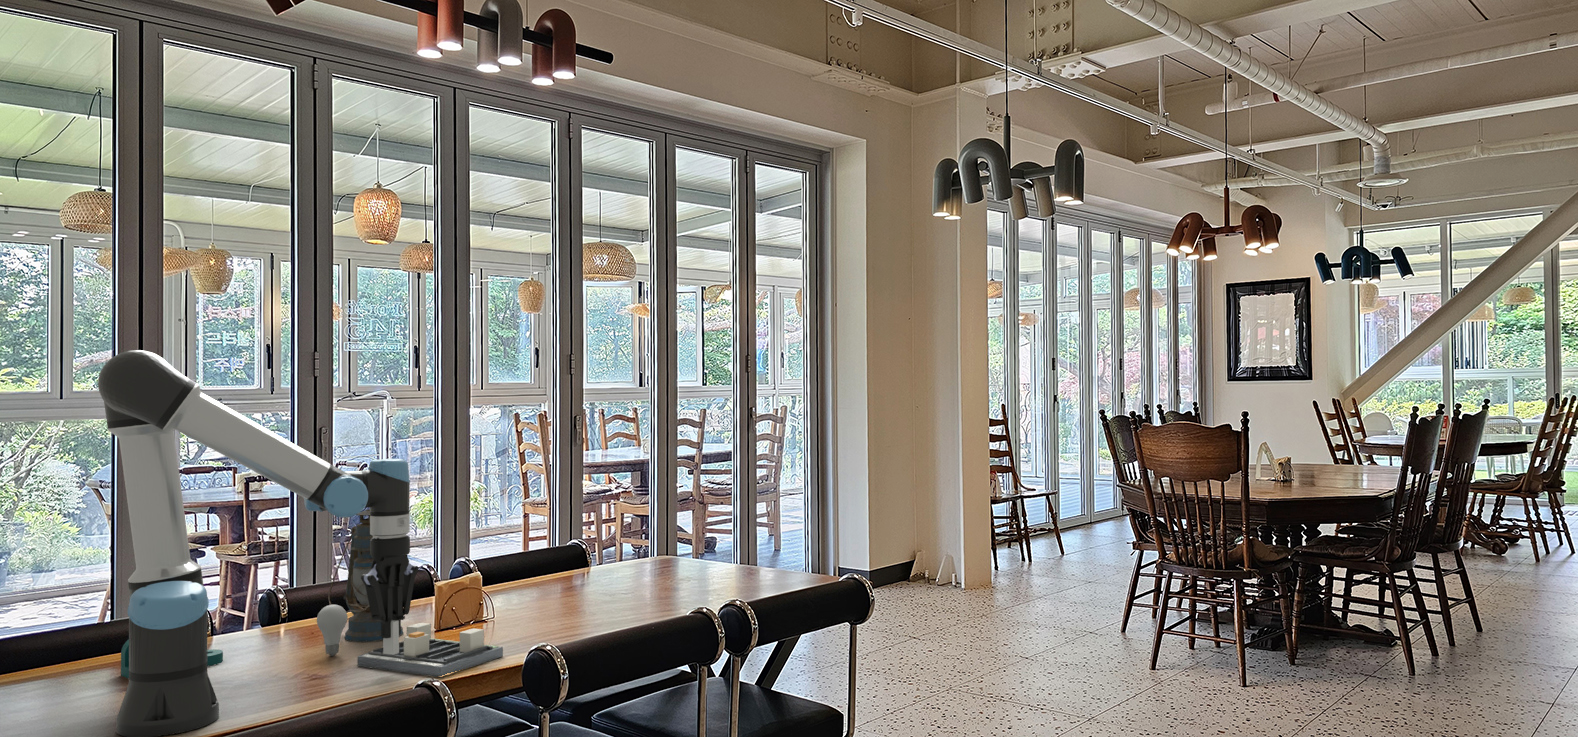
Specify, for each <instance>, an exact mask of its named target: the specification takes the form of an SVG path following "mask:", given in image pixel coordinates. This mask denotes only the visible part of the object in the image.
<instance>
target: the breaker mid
mask: <svg viewBox="0 0 1578 737" xmlns="http://www.w3.org/2000/svg"><path fill="white" fill-rule="evenodd" d="M403 641H404V655H405V656H413V657H416V655H419V654H422V653H426V652H429V635H428V634H424V632H414V633H410V634H409V636H407V635H406V636H405V637H403Z"/></svg>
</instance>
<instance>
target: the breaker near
mask: <svg viewBox="0 0 1578 737" xmlns="http://www.w3.org/2000/svg"><path fill="white" fill-rule="evenodd" d="M459 642H460V652H467V651H470V650H473V649H477V648H480V647H483V646H484V645H485V629H483V628H482V629H481V628H469V629H466V630H463V631H460V632H459Z"/></svg>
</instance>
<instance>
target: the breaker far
mask: <svg viewBox="0 0 1578 737" xmlns="http://www.w3.org/2000/svg"><path fill="white" fill-rule="evenodd" d="M414 632H424V634H428V635H429V640H431V638H432V623H428V622H427V623H425V622H419V623H415V624H410V625H407V626H406V637H407V636H409V634H410V633H414Z"/></svg>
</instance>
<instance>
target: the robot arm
mask: <svg viewBox="0 0 1578 737" xmlns="http://www.w3.org/2000/svg"><path fill="white" fill-rule="evenodd" d="M97 386H98V392H99V394H100V397H101V399H102V400H103V404H104V405H103V406H104V411H105V420H106V426H107V427H106V428H107V431H108V432H110V433H111V434H112V435H114V436H116V438H117V439H118V440H119V441H118V442H119V448H120V456H121V464H122V471H123V479H124V484H125V493H126V501H127V509H128V515H129V522H130V523H129V525H130V531H131V539H132V545H133V553H134V562H135V570H134V571H133V573H132V574H131V575H130V576H129V577H128V579H127V585H128V592H129V603H128V606H127V616H128V640H129V679H128V684H127V687H126V691H125V694H124V697H123V698H122V699H123V700H122V703H121V705H120V709H119V711H118V713H117V716H116V725H115V726H116V733H117V734H118V735H120V736H123V737H162V736H161V735H164V736H169V735H168V734H170V735H174V734H173V733H176V734H181V733H185V731H186V732H190V731H193V730H196V729H200V728H203V727H204V726H205V727H206V726H207V725H210V724H212V723H214V722H215V721H216V720H218V719H219V715H220V712H219V711H220V705H219V700H218V698H217V696H216V693H215V690H214V687H213V684H212V681H211V679H210V677H209V674H208V666H207V650H208V608H209V603H210V601H209V598H208V592H207V588H205V586H204V579H203V574H202V567H201V565H200V564H198V563H197V562H195V561H194V560H192V559H191V554H190V553H191V552H190V545H189V537H188V532H187V531H188V529H187V523H186V515H185V507H184V501H183V500H184V499H183V492H182V485H181V478H180V476H181V475H180V470H179V469H180V468H179V462H178V454H177V447H176V438H175V430H176V431H177V432H179V433H180V434H183V435H185V436H187V437H189V438H190V439H192V440H194V441H196V442H198V443H200V444H202V445H203V446H205V447H207V448H210V449H211V450H214V451H215V452H217V453H219V454H220V455H222V456H224V457H227V458H228V459H230V460H232V461H233V462H235V463H237V464H240V465H241V466H243V467H245V468H247V469H249V470H251V471H253V472H255V473H256V474H259V475H260V476H263V477H264V478H266V479H268V480H269V481H272V482H273V483H275V484H277V485H279V486H281V487H283V488H285V489H286V490H289V491H290V492H293V493H294V494H296V495H298V496H300V497H301V498H303V501H304V507H305V509H306V511H309V512H320V513H321V512H322V513H323V512H325V511H327V512H328V513H330V514H331V515H333V516H335V517H338V518H341V519H342V518H351V517H354V516H358V515H357V514H358V513H360V512H363V511H364V509H367V508H369V510H370V535H372V536H373V538H371V540H370V554H371V556H372V558H373V562H372V565H371V571H370V572H369V573H368V574H367V575H365V574H364V575H362V576H361V580H362V581H363V583H364V585H365V587H366V592H367V596H368V601H369V606H370V610H371V615H372V619H373V620H377V621H380V622H381V637H382V638H383V640H382V641H383V642H382V644H383V645H382V646H383V653H384V654H391V655H394V654H397V653H399V642H400V636H401V635H400V633H401V626H402V625H401V624H402V621H404V620H405V619H406V616H405V615H409V613H410V610H411V609H410V608H411V603H412V602H411V601H412V597H413V591H414V586H415V585H414V584H415V580H416V576H417V574H418V571H419V569H420V568H419V566H417V565H413V564H411V563H410V559H409V557H408V555H409V554H410V552H411V537H410V536H409V535H408V534H409V533H410V531H411V530H410V529H411V524H410V523H411V522H410V518H411V517H410V485H411V484H410V483H411V480H410V472H409V471H410V470H409V469H410V468H409V463H408V462H407V460H405V459H402V458H383V459H373V460H370V462H369V465H368V466H369V467H368V469H364V470H349V471H347V470H345V471H344V470H342V469H340V468H338V467H336V466H335V465H332V464H331V463H329V462H328V461H326V460H324V459H322V458H321V457H318V456H317V455H315V454H314V453H311V452H309V451H308V450H306V449H305V448H302V447H300V446H299V445H297V444H295V443H293V442H292V441H289V440H288V439H286V438H285V437H284V436H283V437H282V436H280V435H279V434H277V433H276V432H274V431H271V430H270V429H268V428H266V427H265V426H263V425H260V424H259V423H258V422H256V421H254V420H252V419H250V418H248V417H246V416H245V415H243V414H241V413H239V412H238V411H235V410H234V409H232V408H230V407H228V406H227V405H225V404H223V403H221V402H219V401H218V400H216V399H214V398H212V397H211V396H209V395H207V394H205V393H203V392H202V391H201V388H200V384H199V383H197V382H195V381H194V380H192V379H190V378H189V377H187V376H185V375H184V374H182V372H180V371H178V369H175V368H174V367H173V366H172V364H171V363H170V362H168V361H167V360H166V359H165V358H163V357H161V355H158V354H157V353H154V352H151V351H147V350H141V349H138V350H137V349H134V350H133V349H132V350H128V351H127V350H126V351H123V352H120V353H119V354H116V355H115V356H114V355H113V357H111V358H110V359H109V360H108V361H107V362H106V363H104V365H103V367H102V368H101V370H100V372H99V375H98V379H97ZM399 635H400V636H399ZM180 732H181V733H180ZM166 734H167V735H166Z"/></svg>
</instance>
